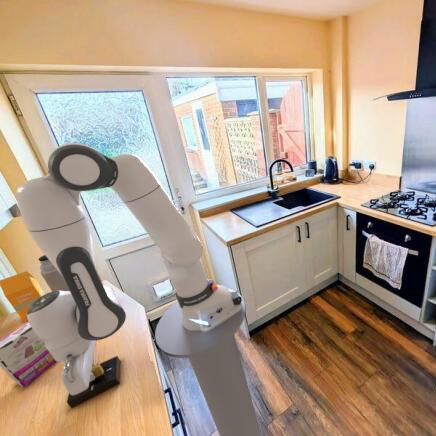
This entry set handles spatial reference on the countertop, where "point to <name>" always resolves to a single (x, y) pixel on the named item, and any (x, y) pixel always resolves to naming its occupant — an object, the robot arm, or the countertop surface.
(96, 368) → the lock knob
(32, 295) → the orange juice
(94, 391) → the plate
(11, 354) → the candy bar box
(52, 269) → the thermos bottle
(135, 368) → the countertop surface
